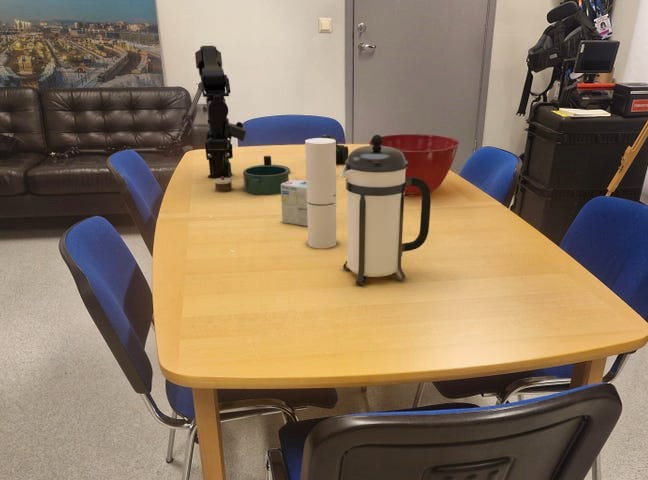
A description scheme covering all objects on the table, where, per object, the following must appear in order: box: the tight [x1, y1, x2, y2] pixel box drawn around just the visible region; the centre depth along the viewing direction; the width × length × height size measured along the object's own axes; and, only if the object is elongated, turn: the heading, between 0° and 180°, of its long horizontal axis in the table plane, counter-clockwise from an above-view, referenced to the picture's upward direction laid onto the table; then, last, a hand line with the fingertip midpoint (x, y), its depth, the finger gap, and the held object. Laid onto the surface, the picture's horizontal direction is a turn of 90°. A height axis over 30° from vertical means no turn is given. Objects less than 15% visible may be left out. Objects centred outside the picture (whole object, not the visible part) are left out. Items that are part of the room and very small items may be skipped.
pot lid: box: [248, 155, 291, 173], centre depth 224 cm, size 15×15×6 cm
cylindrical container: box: [304, 137, 337, 249], centre depth 152 cm, size 7×7×25 cm
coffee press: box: [339, 134, 432, 287], centre depth 134 cm, size 17×16×30 cm
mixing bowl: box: [368, 133, 460, 197], centre depth 201 cm, size 28×28×15 cm
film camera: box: [320, 134, 350, 165], centre depth 237 cm, size 18×12×10 cm
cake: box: [213, 176, 233, 193], centre depth 203 cm, size 5×5×4 cm
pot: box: [242, 165, 290, 196], centre depth 204 cm, size 14×20×6 cm
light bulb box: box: [280, 178, 308, 227], centre depth 172 cm, size 11×7×11 cm, turn 65°
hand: (222, 167), depth 200 cm, fingers open, 9 cm apart
